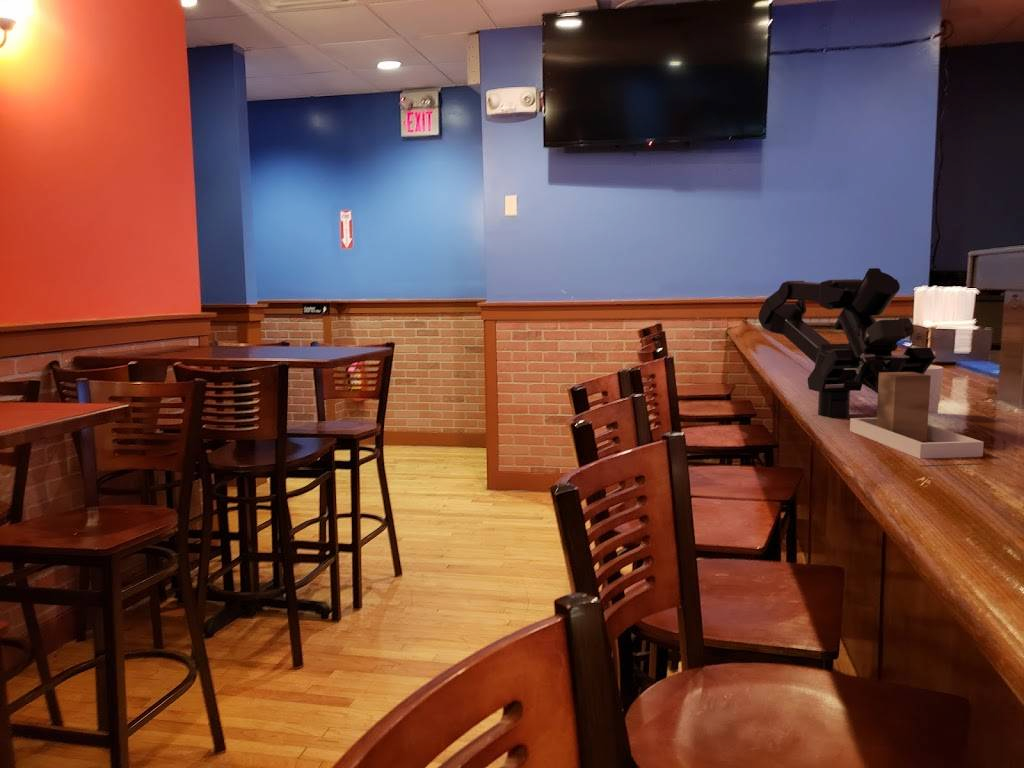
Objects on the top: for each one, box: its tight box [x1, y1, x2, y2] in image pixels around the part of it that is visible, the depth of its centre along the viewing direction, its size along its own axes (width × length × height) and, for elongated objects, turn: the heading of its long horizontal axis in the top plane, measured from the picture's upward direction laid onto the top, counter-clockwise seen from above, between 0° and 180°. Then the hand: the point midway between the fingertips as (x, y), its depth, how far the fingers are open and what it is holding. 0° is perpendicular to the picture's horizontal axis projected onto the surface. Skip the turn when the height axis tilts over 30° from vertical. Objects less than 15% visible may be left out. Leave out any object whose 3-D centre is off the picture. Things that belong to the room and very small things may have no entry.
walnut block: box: [876, 372, 931, 442], centre depth 131 cm, size 5×6×11 cm
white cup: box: [924, 364, 944, 414], centre depth 158 cm, size 8×8×10 cm
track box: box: [849, 417, 985, 468], centre depth 129 cm, size 21×10×4 cm, turn 4°
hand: (893, 401), depth 134 cm, fingers closed, pressing on walnut block
